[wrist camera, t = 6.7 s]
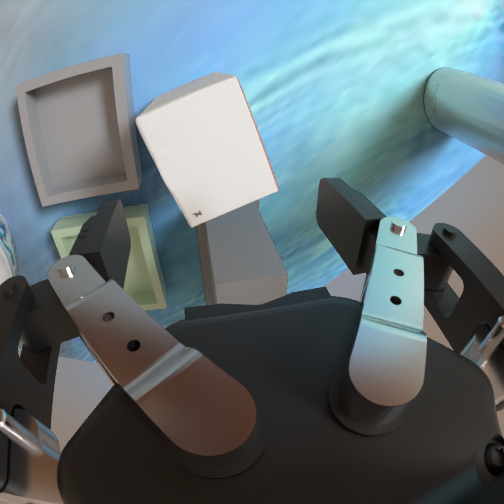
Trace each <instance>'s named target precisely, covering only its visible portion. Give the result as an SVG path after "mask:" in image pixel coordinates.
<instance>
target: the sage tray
mask: <svg viewBox="0 0 504 504" xmlns="http://www.w3.org/2000/svg"><path fill="white" fill-rule="evenodd" d="M123 209H124V213H125V217H126V221H127V225H128V230H129V234H130V239H131V250H130V255H129V260H128V266H127V271H126V277H125V282H124V288H123V290H124V291H125V292H126V293H127V294H128V295H129V296H130V297H131V298H132V299H133V300H134V301H135V302H136V303H137V304H138V305H139V306H140V307H141V308H143V309H144V310H145V311H146V310H156V309H165V308H167V290H166V286H165V282H164V277H163V273H162V269H161V265H160V261H159V256H158V252H157V247H156V243H155V238H154V233H153V229H152V224H151V219H150V214H149V208H148V203H144V204H137V205H130V206H124V207H123ZM96 214H97V211H93V212H87V213H82V214H76V215H71V216H65V217H60V218H59V219H58V221H57V222H56V224H55V225H54V227H53V229H52V230H51V233H52V236H53V239H54V241H55V244H56V247H57V249H58V252H59V254H60V257H61V259H62V258H64V257H66V256H69V253H70V251H71V249H72V247H73V245H74V242H75V240H76V239H77V236H78V234H79V233H80V230H81V228H82V225H83V224H84V223H85V222H86V221H87V220H88V219H89V218H90V217H91V216H96Z"/></svg>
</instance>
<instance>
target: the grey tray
mask: <svg viewBox="0 0 504 504" xmlns="http://www.w3.org/2000/svg"><path fill="white" fill-rule="evenodd" d="M16 93H17V100H18V107H19V113H20V119H21V125H22V130H23V135H24V140H25V145H26V149H27V153H28V158H29V162H30V166H31V170H32V173H33V177H34V181H35V184H36V188H37V191H38V194H39V198H40V201H41V204H42V207H44V206H48V205H53V204H58V203H63V202H68V201H73V200H78V199H83V198H88V197H94V196H99V195H105V194H111V193H117V192H123V191H129V190H136V189H139V188H140V185H141V182H142V179H143V175H142V168H141V162H140V155H139V148H138V141H137V134H136V126H135V118H134V109H133V99H132V89H131V77H130V64H129V54H118V55H113V56H109V57H104V58H100V59H96V60H92V61H88V62H84V63H81V64H77V65H74V66H70V67H67V68H64V69H61V70H58V71H55V72H52V73H49V74H46V75H43V76H40V77H37V78H35V79H32V80H29V81H27V82H24V83H22V84H19V85H17V86H16Z"/></svg>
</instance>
